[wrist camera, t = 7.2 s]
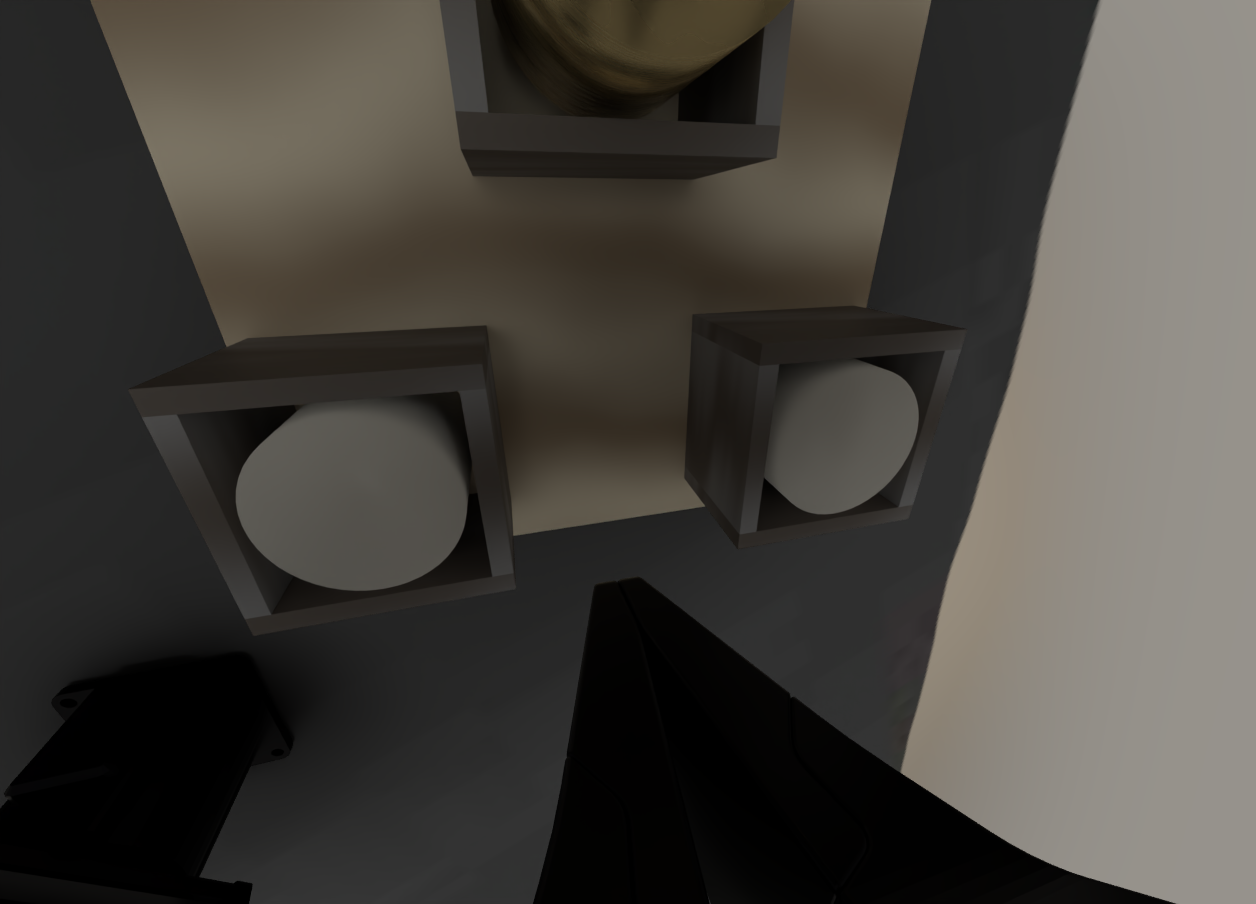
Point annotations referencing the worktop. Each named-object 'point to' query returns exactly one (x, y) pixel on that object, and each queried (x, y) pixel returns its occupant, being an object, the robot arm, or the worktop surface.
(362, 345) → the mount
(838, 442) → the knob back
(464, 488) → the knob front
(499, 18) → the brass dial
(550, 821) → the worktop surface
